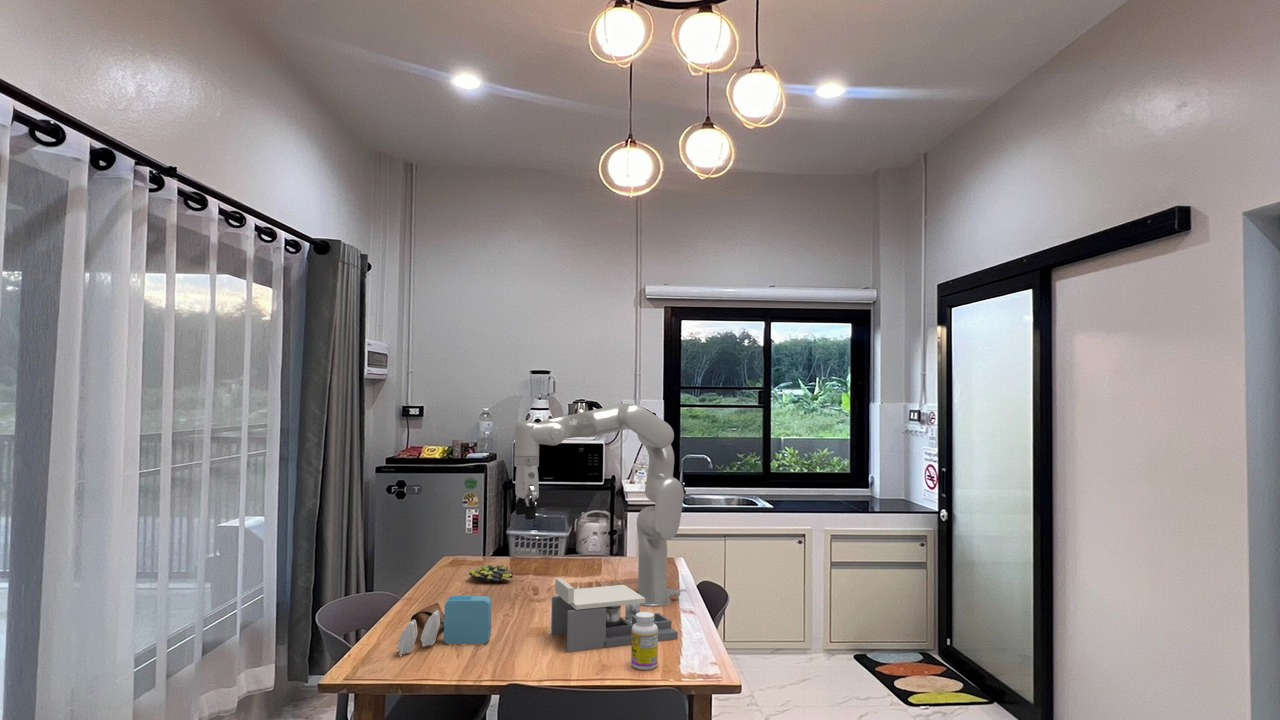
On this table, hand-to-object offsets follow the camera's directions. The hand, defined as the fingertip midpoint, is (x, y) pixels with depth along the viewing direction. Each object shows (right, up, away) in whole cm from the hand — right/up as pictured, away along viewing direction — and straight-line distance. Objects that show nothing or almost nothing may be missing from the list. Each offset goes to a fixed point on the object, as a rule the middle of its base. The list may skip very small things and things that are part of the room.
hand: (525, 516), depth 231 cm
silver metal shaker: (+33, -30, -5) cm, 45 cm away
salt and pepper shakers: (-24, -27, -34) cm, 49 cm away
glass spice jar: (+28, -27, -21) cm, 44 cm away
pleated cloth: (-20, -34, +46) cm, 60 cm away
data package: (-12, -29, -28) cm, 42 cm away
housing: (+28, -29, -21) cm, 46 cm away
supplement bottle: (+37, -29, -44) cm, 64 cm away
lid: (+24, -18, -23) cm, 38 cm away
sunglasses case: (-23, -28, -22) cm, 42 cm away
